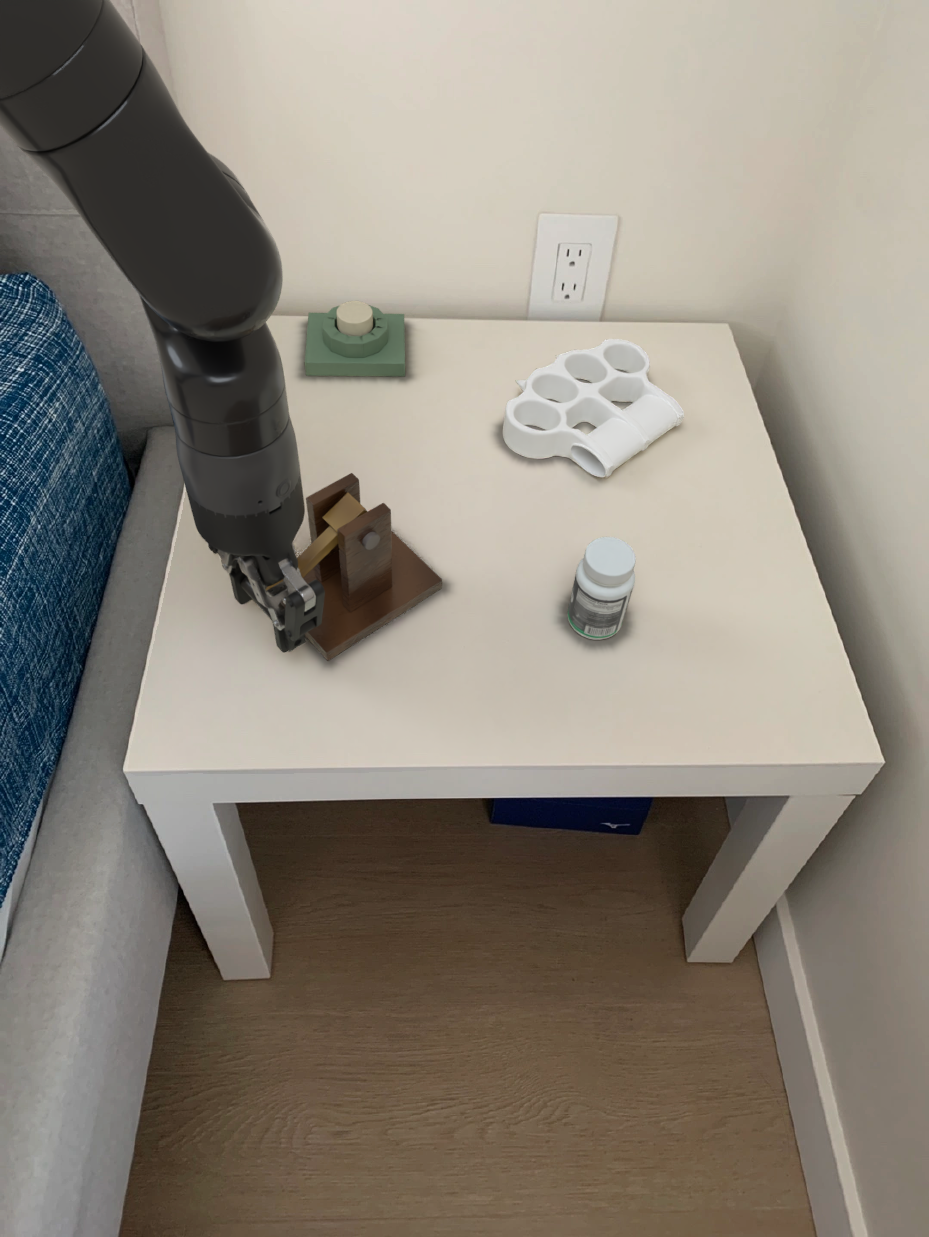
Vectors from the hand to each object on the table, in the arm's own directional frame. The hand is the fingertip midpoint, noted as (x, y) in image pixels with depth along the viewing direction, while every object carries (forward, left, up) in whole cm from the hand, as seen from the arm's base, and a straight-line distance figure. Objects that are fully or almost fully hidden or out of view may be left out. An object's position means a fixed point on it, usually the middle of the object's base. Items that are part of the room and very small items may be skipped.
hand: (270, 620), depth 78 cm
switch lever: (+5, 0, +3) cm, 6 cm away
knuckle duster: (+39, +3, -3) cm, 39 cm away
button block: (+27, +25, -3) cm, 37 cm away
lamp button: (+27, +25, 0) cm, 37 cm away
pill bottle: (+22, -15, -3) cm, 27 cm away
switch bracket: (+8, 0, -3) cm, 9 cm away
